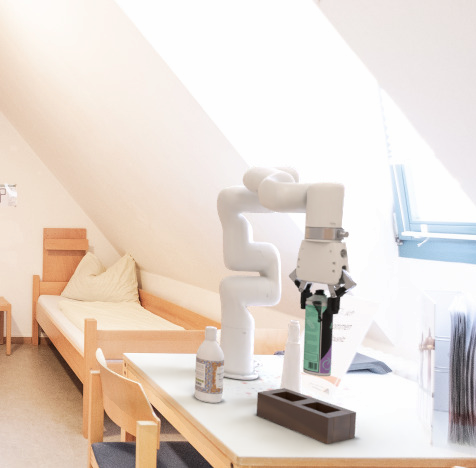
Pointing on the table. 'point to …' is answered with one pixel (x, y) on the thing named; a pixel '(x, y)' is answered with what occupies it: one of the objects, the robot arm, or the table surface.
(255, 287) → the robot arm
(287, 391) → the rack
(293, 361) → the cosmetic bottle
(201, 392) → the bath foam
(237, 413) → the table surface
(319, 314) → the spray can
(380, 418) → the table surface
